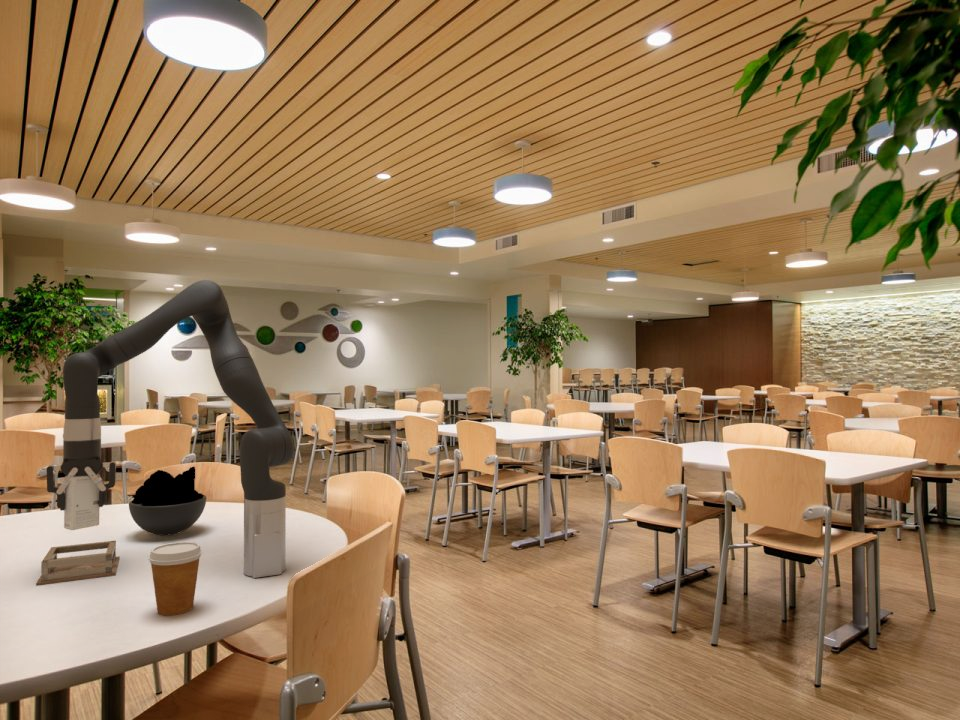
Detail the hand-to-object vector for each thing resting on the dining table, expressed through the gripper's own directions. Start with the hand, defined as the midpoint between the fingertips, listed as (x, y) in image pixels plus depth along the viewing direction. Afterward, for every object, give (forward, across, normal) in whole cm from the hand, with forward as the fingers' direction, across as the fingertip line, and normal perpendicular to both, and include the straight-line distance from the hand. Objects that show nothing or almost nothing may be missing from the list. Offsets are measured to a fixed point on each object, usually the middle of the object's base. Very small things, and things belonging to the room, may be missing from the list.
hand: (81, 508), depth 148 cm
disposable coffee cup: (+15, -19, +37) cm, 44 cm away
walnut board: (+15, 0, 0) cm, 15 cm away
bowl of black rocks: (+15, -18, -28) cm, 37 cm away
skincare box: (+5, 0, 0) cm, 5 cm away
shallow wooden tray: (+15, 0, 0) cm, 15 cm away
